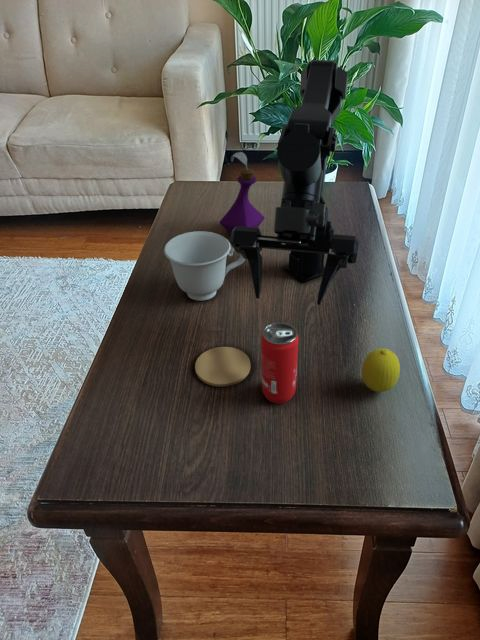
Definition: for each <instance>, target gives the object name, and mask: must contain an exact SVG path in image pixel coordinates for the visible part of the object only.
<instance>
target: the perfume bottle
mask: <svg viewBox="0 0 480 640" xmlns="http://www.w3.org/2000/svg"><path fill="white" fill-rule="evenodd" d="M234 158H236V159H238V160H239V161H240V162H241V163H243V164H244V165H245V168H244V169H241V170H240V171H239V174H240V175H239V176H238V177H237V178H236V181H237V183H239V185H240V188H239V191H238V194H237V196H236V198H235V200H234V202H233V204H232V205H231V207H230V208H229V209H228V210H227V212H226V213H225V214H224V215H223V217H221V219H220V221H219V224H220V226H222V228H224V230H225V231H226V232H228V234H229V235H231V232H232V230H233V229H234V228H235V227H236V226H241V227H253V228H259V227H260V225H262V223H263V222H264V220H265V219H266V217H265V215H263V214H262V213H261V212H260V211H259V210H258V209H257V208H256V207H254V206H253V204H252V203H251V202H250V200H249V192H250V189H251V186H252V185H254V184H256V182H257V177H256V176H254V175H255V170H254V169H252V168H248V158H247V155H246V154H245V153H244V152H242V151H238V152H235V153H234V154H232V155H231V157H230V162H231V163H233V162H234Z"/></svg>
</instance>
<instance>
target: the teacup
mask: <svg viewBox="0 0 480 640" xmlns="http://www.w3.org/2000/svg"><path fill="white" fill-rule="evenodd" d="M163 252H164V255H165V256H166V258H167V259H168V260H169V261H170V264H171V268H172V271H173V275H174V278H175V281H176V283H177V285H178V287H179V289H180V290H182V291H183V292H184V293H186V295H187V297H188V298H190V300H194V301H198V302H199V301H200V302H201V301H202V302H203V301H207V300H210V299H212V298H214V297H215V296H216V294H217V291H218V290H219V289H220V288H221V287H222V285H224V282H225V276H227V274H228V273H229V272H230V271H231V270H234V269H235V268H238V267H239V266H241V265H243V263H245V261H246V259H244V258H243V257H242V255H241V254H240V257H239V258H237V259H235V260H234V261H232V262H231V263H229V264H227V257H233V255H234V252H236V251H235V250H234V248H233V247H232V245H231V244H230V240H229V239H227V238H226V237H225V236H223V235H222V234H219V233H216V232H212V231H202V230H201V231H200V230H197V231H189V232H184V233H182V234H178V235H176V236H174V237H172V238H171V239H170V240H169V241H168V242H166V244H165V246H164V249H163ZM226 264H227V265H226Z"/></svg>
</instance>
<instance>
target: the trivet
mask: <svg viewBox="0 0 480 640" xmlns="http://www.w3.org/2000/svg"><path fill="white" fill-rule="evenodd" d="M251 366H252V365H251V360H250V358H249V356H248V354H246V353H245V352H244V351H242V350H241V349H239V348H236V347H231V346H218V347H213V348H210V349H207V350H206V351H204V352H203V353H201V354H200V355H199V356H198V357H197V359H196V361H195V363H194V371H195V374H196V376H197V378H198V379H199V381H202V382H203V384H207V385H209V386H212V387H220V388H222V387H224V388H225V387H230V386H235V385H236V384H239V383H240V382H242V381H243V380H245V379H246V378H247V377H248V375H249V374H250V372H251V369H252V368H251Z"/></svg>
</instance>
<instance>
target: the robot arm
mask: <svg viewBox="0 0 480 640" xmlns="http://www.w3.org/2000/svg"><path fill="white" fill-rule="evenodd" d="M338 65H339V64H338V62H336V61H334V60H330V59H329V60H327V59H326V60H325V59H312V60H311V61H310V60H309V61H308V62H307V66H306V67H305V68H303V69H302V70H301V74H300V85H299V94H300V97H301V99H302V100H301V104H300V106H299V107H297V108H295V109H292V110H291V112H290V113H289V117H288V120H287V123H286V124H285V123H284V124H283V127H282V129H281V133H280V135H279V138H278V141H277V147H276V148H277V149H276V156H277V160H278V164H279V168H280V172H281V176H282V179H283V185H282V194H281V201H280V206H276V207H275V212H274V213H275V215H274V227H273V232H274V234H276V236H273V235H263V234H262V232H261V231H260V228H259V227H258V228H253V227H241V226H236V227H235V228H234V229H233V230H232V232H231V234H230V240H229V243H230V246H232V247H233V248H234V250H235V251H234V252H235V253H238V254H240V256H241V255H242V257H243V258H244V259H245V260H247V262H248V266H249V268H250V272H251V278H252V283H253V289H254V295H255V298H256V300H257V299H258V300H259V299H260V297H261V292H262V280H263V279H262V278H263V277H262V275H263V257H262V254H261V252H262V250H263V249H266V250H278V251H289V253H288V265H285V270H286V271H287V272H288V273H290V274H291V275H293V276H294V277H295V278H296V279H298V280H299V281H301V282H302V283H307V282H309V281H312V280H314V279H316V278H319V277H321V276H322V277H321V281H320V286H319V289H318V293H317V301H316V302H317V303H316V304H317V306H321V304H322V302H323V300H324V298H325V296H326V293H327V291H328V289H329V287H330V285H331V283H332V282H333V279H334V278H335V277H336V276H337V274H338V272H339V271H340V269H347V267H348V264H349V265H350V264H352V265H353V264H356V263H357V258H358V254H359V253H358V252H359V243H360V240H359V239H358V237H357V236H356V235H347V234H335V229H334V228H333V225H332V221H331V220H329V209H328V207H327V204H326V201H325V200H324V191H325V190H324V189H325V181H326V172H327V163H328V157H331V156H332V153H335V152H336V149H337V146H338V145H337V144H338V134H337V133H336V131H337V130H336V129H335V126H332V124H333V123H334V121H335V120H336V119H337V118H338V116H339V115H340V114H341V112H342V106H343V100H344V101H345V100H346V99H347V93H348V82H349V81H348V80H349V78H348V77H349V76H348V74H349V73H348V72H347V70H344V69H343V68H341V67H340V66H338ZM325 255H326V260H325ZM324 263H325V265H324Z"/></svg>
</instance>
